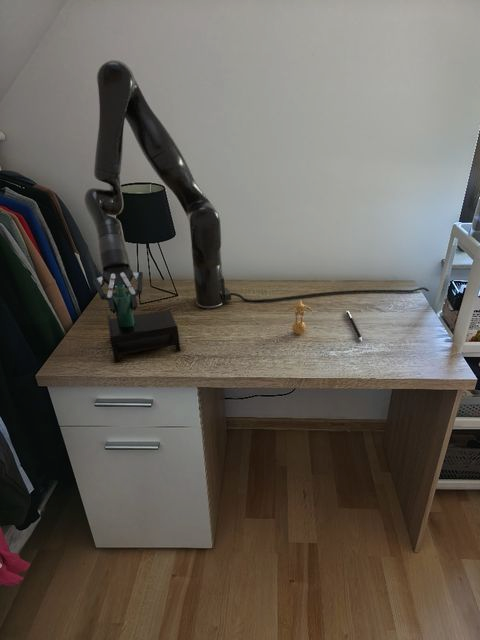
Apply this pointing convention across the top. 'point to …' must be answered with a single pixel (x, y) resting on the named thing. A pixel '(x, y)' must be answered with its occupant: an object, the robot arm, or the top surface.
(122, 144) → the robot arm
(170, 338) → the black rectangular case
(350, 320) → the pen
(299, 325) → the figurine
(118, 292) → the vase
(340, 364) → the top surface
